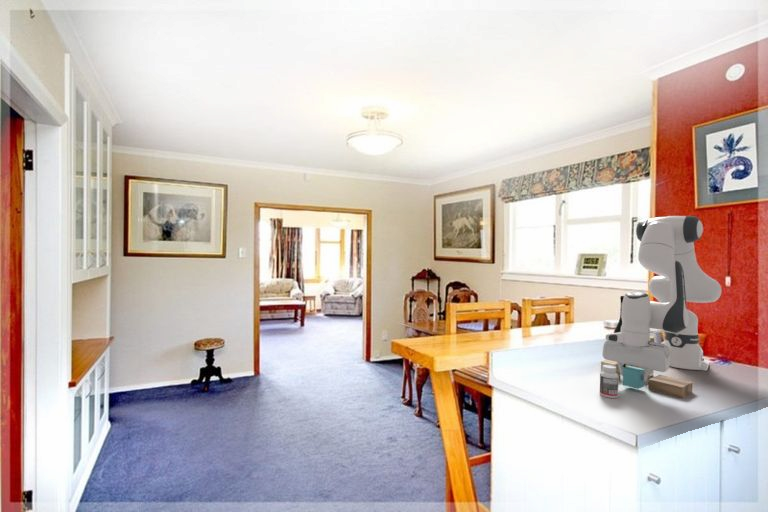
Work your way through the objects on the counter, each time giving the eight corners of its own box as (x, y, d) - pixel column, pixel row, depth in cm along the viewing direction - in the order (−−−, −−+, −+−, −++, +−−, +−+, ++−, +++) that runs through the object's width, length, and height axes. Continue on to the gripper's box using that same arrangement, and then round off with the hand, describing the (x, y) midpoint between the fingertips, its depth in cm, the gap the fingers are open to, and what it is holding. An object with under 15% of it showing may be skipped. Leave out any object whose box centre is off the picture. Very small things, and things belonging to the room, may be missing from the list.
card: (639, 377, 155) (639, 376, 155) (654, 381, 151) (654, 380, 151) (631, 381, 150) (631, 380, 150) (645, 384, 146) (646, 383, 146)
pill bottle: (600, 391, 138) (601, 363, 138) (618, 395, 135) (619, 366, 134) (598, 395, 133) (599, 366, 133) (617, 399, 130) (618, 369, 130)
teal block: (628, 382, 144) (629, 365, 144) (644, 386, 140) (644, 369, 140) (622, 384, 141) (623, 367, 141) (638, 388, 137) (638, 371, 137)
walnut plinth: (659, 385, 147) (659, 374, 147) (692, 393, 139) (692, 382, 139) (648, 390, 141) (648, 379, 141) (682, 399, 133) (682, 387, 133)
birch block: (606, 374, 158) (607, 359, 158) (620, 378, 154) (620, 362, 154) (600, 376, 155) (601, 361, 155) (614, 380, 151) (614, 364, 151)
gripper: (673, 343, 134) (671, 384, 134) (608, 332, 151) (607, 369, 151) (666, 346, 130) (664, 388, 131) (601, 334, 147) (599, 372, 147)
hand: (633, 378), depth 141 cm, fingers closed on teal block, 5 cm apart
